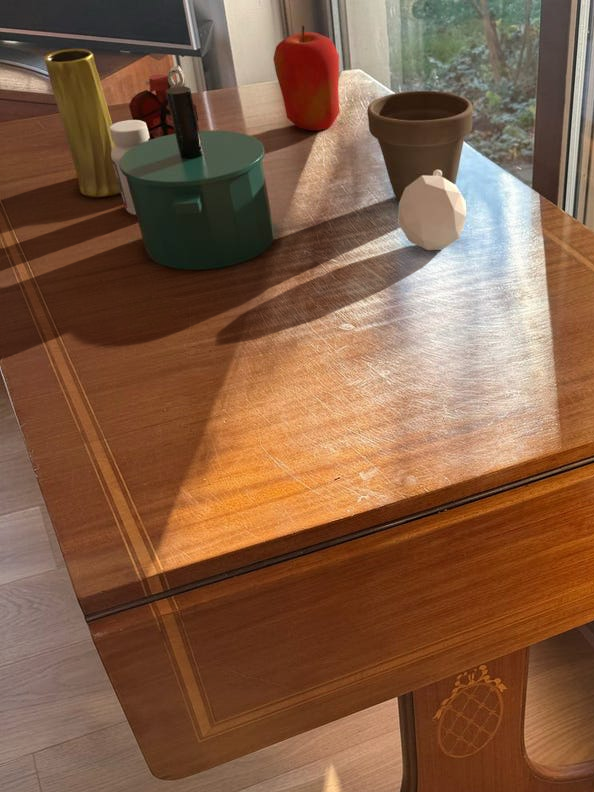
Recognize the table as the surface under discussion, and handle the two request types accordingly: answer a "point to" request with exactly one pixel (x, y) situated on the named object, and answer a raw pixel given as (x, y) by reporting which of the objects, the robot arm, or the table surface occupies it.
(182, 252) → the pot
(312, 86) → the apple
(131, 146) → the pill bottle
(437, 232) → the ornament
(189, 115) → the lid
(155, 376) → the table surface
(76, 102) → the vase
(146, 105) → the grenade
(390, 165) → the flower pot
